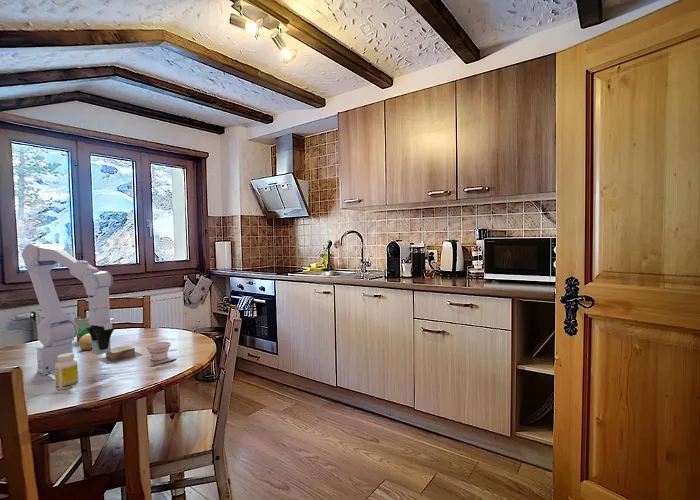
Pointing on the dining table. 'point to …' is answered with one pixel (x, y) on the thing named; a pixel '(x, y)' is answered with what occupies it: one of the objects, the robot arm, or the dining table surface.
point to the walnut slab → (120, 353)
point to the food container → (81, 326)
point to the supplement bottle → (66, 371)
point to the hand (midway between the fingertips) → (101, 348)
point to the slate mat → (117, 360)
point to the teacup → (159, 352)
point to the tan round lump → (85, 342)
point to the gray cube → (97, 350)
